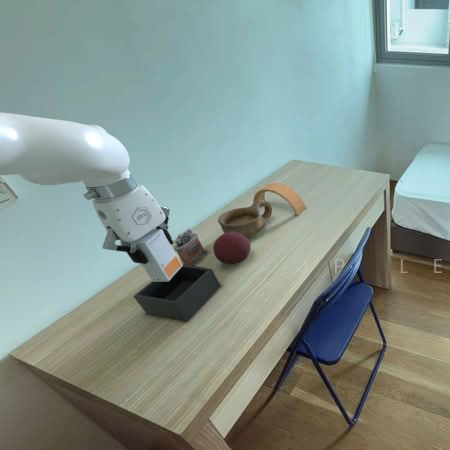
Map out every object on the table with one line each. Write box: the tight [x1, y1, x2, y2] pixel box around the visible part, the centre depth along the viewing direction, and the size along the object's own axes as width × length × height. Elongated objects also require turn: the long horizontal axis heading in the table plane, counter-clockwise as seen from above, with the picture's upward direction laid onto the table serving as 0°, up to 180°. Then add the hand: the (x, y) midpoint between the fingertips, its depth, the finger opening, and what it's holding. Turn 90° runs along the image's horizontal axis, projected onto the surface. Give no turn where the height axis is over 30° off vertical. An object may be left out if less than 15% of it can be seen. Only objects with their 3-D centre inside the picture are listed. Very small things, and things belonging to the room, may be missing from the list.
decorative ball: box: [212, 232, 251, 266], centre depth 94 cm, size 10×10×10 cm
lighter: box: [173, 228, 207, 266], centre depth 95 cm, size 8×3×10 cm, turn 171°
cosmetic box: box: [136, 228, 184, 282], centre depth 75 cm, size 6×4×12 cm
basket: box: [132, 263, 222, 323], centre depth 82 cm, size 13×13×7 cm
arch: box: [252, 182, 306, 216], centre depth 119 cm, size 6×20×10 cm, turn 71°
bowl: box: [217, 200, 273, 239], centre depth 108 cm, size 18×14×10 cm
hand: (155, 252), depth 74 cm, fingers closed on cosmetic box, 6 cm apart
